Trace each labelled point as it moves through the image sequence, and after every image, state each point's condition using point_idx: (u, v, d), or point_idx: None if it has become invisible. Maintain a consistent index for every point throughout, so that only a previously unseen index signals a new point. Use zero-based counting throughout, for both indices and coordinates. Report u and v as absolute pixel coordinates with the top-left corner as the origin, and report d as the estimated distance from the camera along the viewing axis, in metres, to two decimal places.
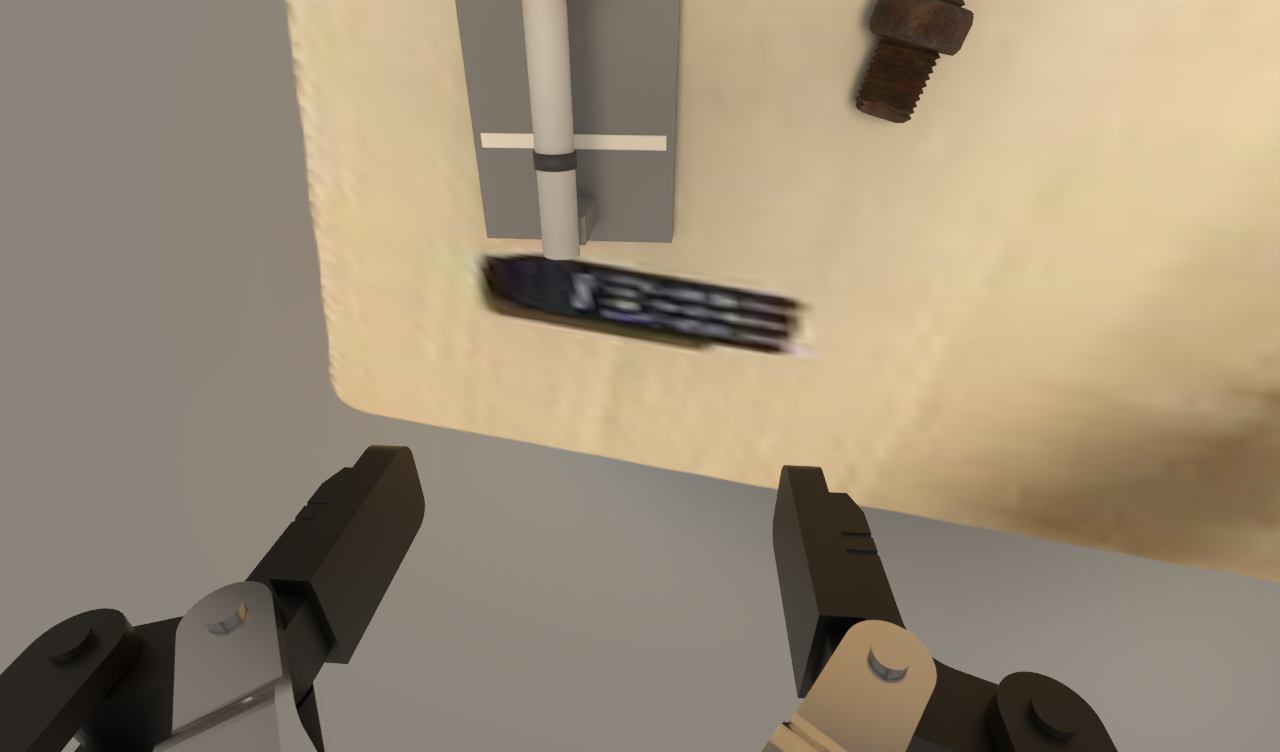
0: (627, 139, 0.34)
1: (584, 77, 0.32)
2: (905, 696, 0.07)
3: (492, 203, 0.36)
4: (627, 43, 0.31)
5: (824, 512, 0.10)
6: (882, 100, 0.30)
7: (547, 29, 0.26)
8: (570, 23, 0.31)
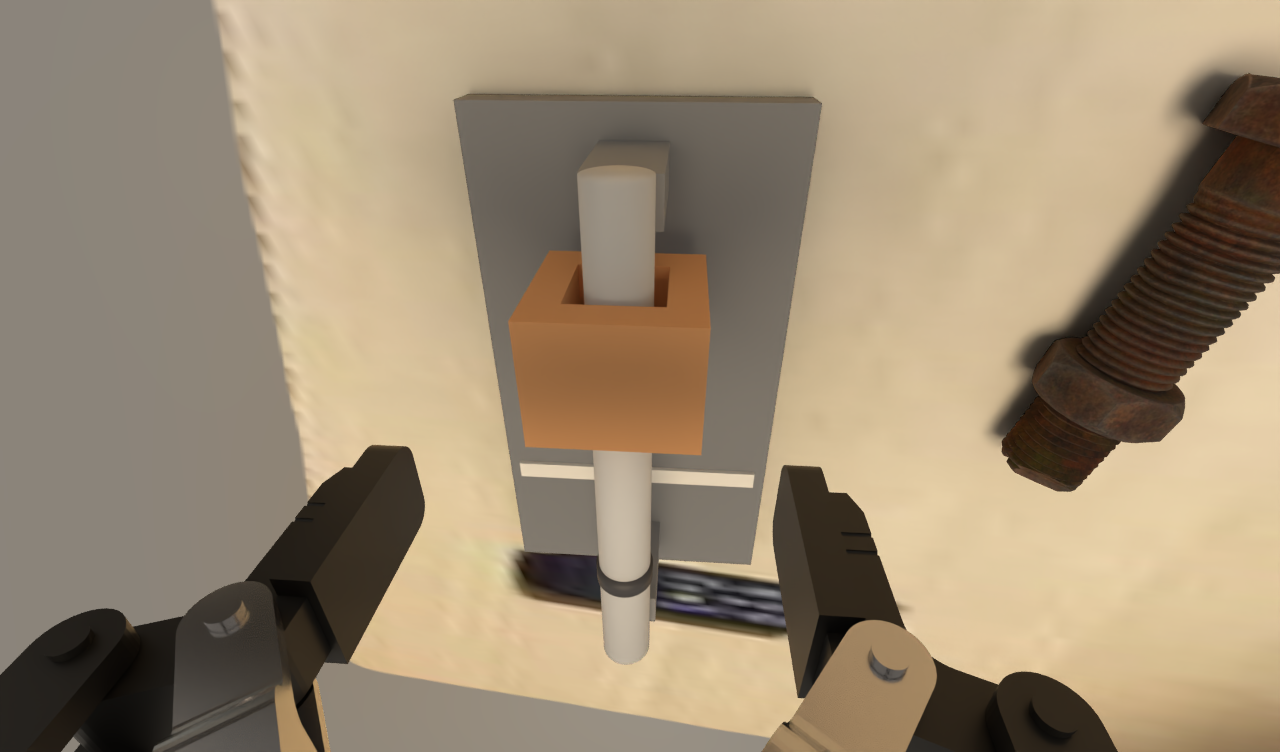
0: (704, 475, 0.27)
1: None
2: (905, 696, 0.07)
3: (532, 522, 0.30)
4: (711, 386, 0.24)
5: (824, 512, 0.10)
6: (1047, 474, 0.23)
7: (627, 476, 0.19)
8: None
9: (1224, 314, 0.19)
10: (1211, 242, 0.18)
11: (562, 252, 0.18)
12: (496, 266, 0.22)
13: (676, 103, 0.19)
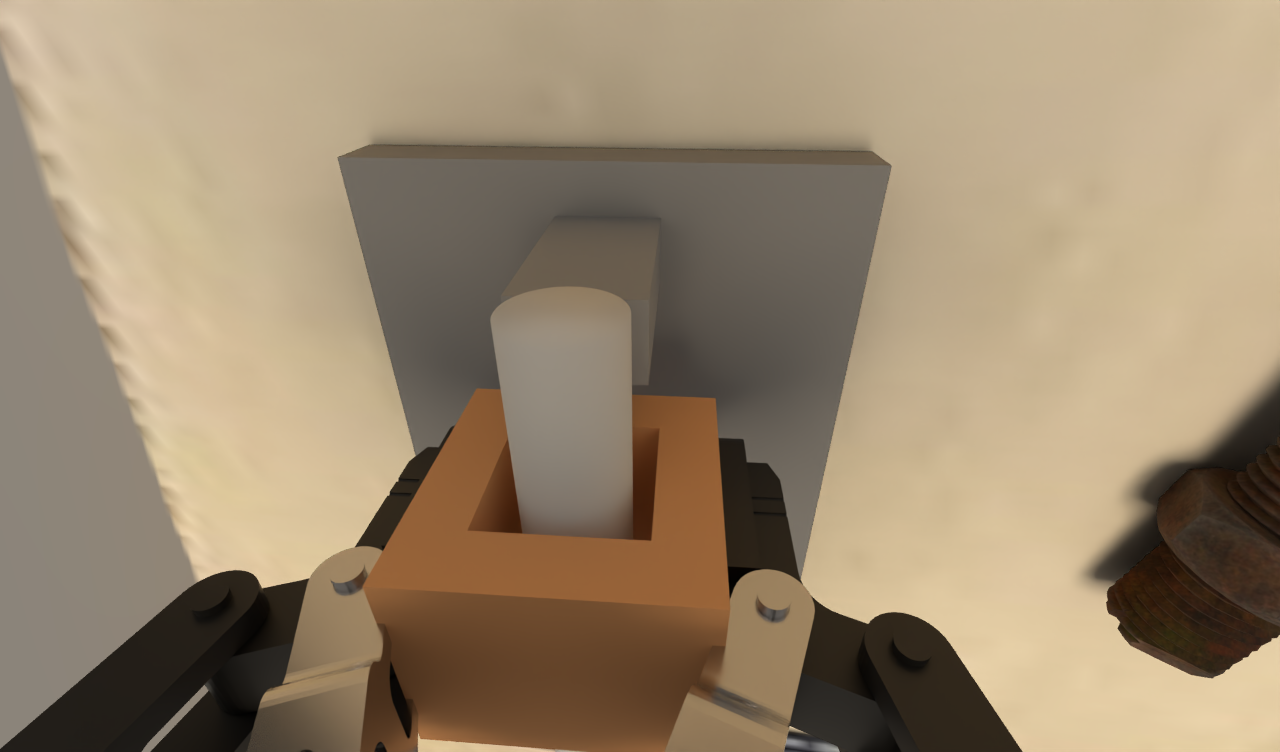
0: None
1: None
2: (782, 633, 0.08)
3: None
4: None
5: (739, 478, 0.11)
6: (1182, 658, 0.17)
7: None
8: None
9: None
10: None
11: (495, 393, 0.12)
12: (418, 380, 0.16)
13: (670, 164, 0.12)
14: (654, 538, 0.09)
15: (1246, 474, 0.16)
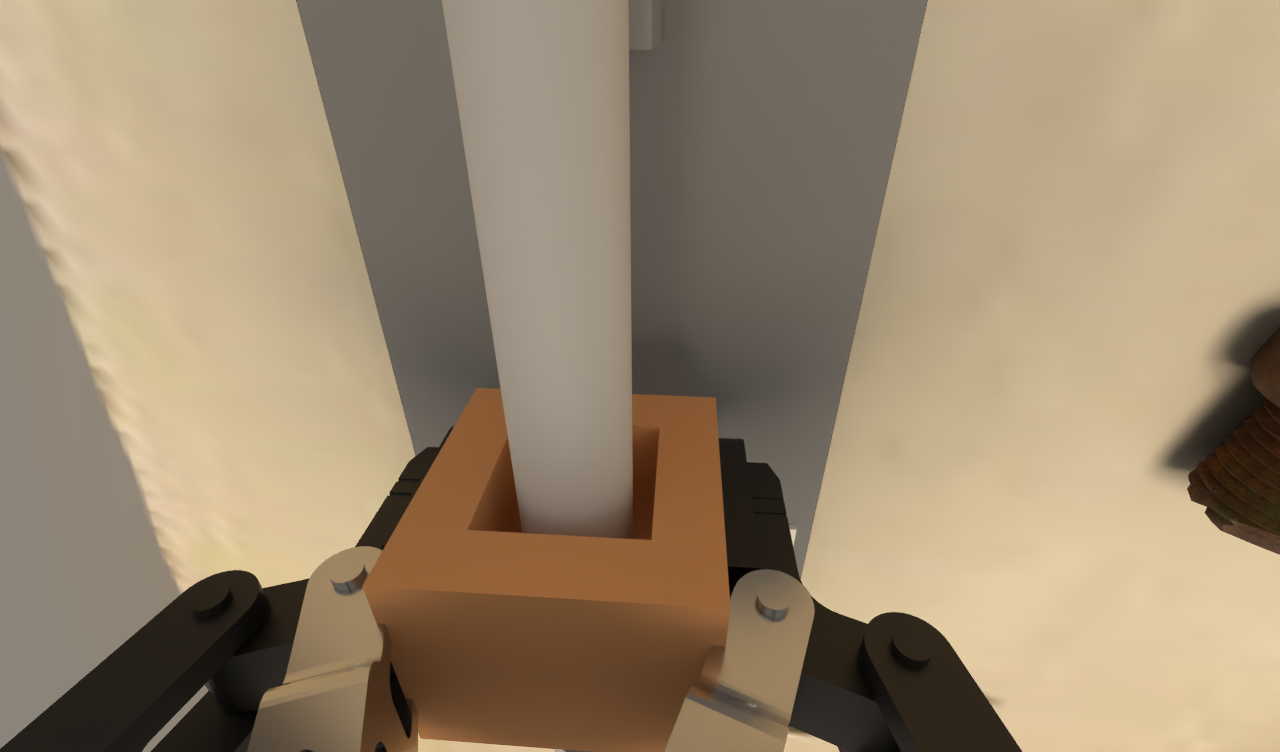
0: None
1: None
2: (781, 632, 0.08)
3: None
4: (734, 395, 0.15)
5: (739, 478, 0.11)
6: None
7: None
8: None
9: None
10: None
11: (495, 392, 0.12)
12: (374, 192, 0.13)
13: None
14: (654, 537, 0.09)
15: None
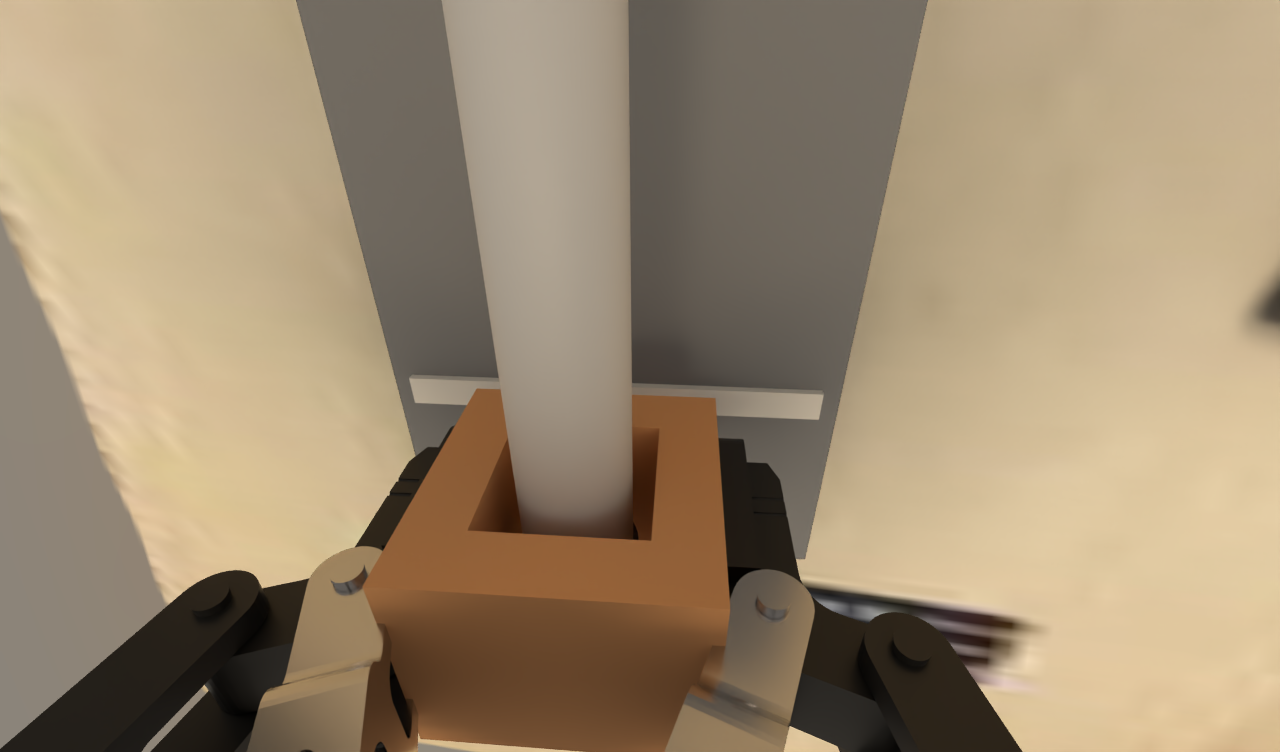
0: (734, 397, 0.15)
1: (642, 279, 0.14)
2: (782, 632, 0.08)
3: None
4: (753, 210, 0.13)
5: (739, 478, 0.11)
6: None
7: (563, 300, 0.07)
8: None
9: None
10: None
11: (495, 393, 0.12)
12: None
13: None
14: (654, 538, 0.09)
15: None
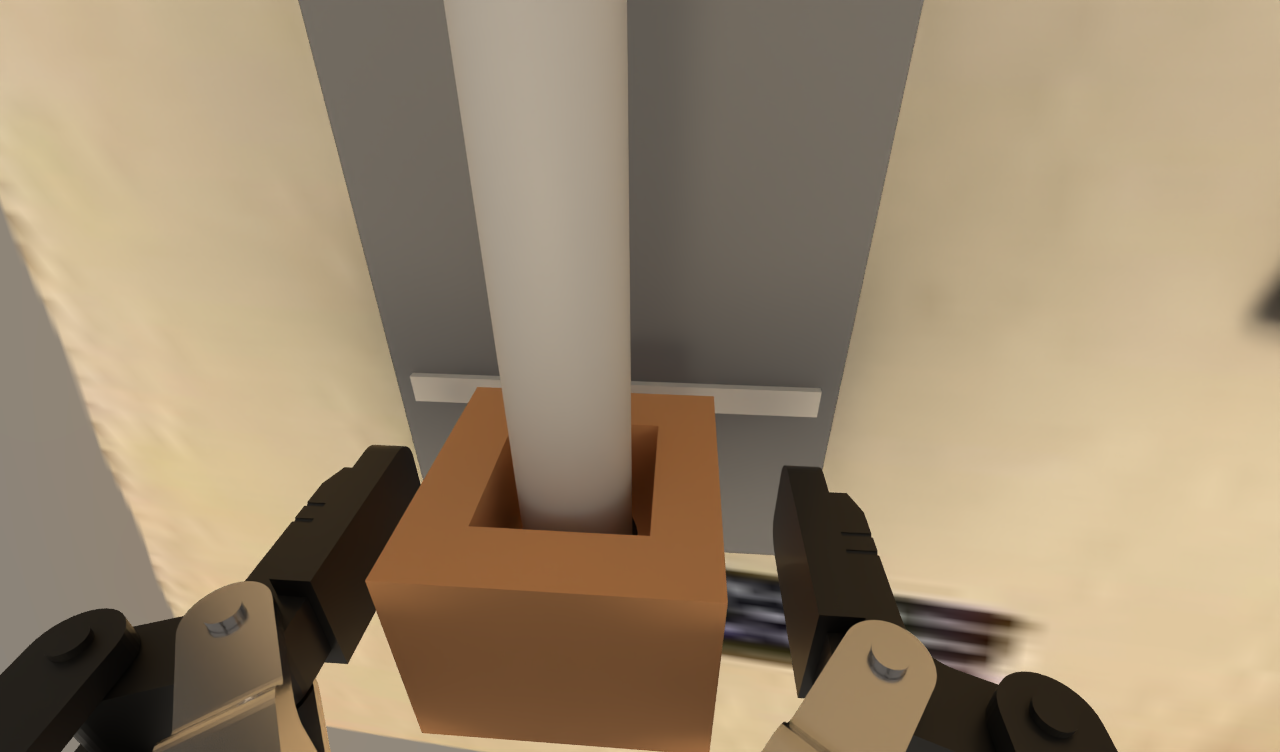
0: (732, 395, 0.15)
1: (641, 277, 0.14)
2: (905, 696, 0.07)
3: None
4: (751, 209, 0.13)
5: (824, 512, 0.10)
6: None
7: (563, 295, 0.07)
8: None
9: None
10: None
11: (495, 391, 0.12)
12: None
13: None
14: (653, 533, 0.09)
15: None
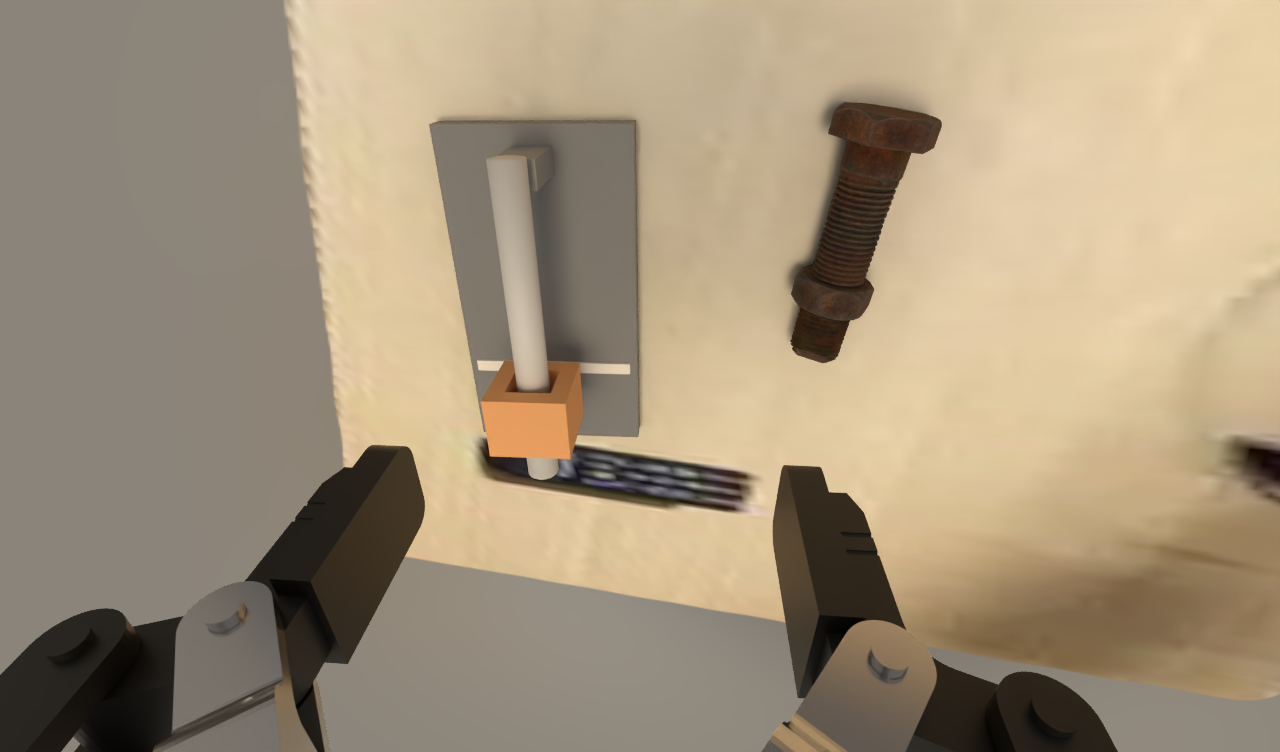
0: (597, 366, 0.41)
1: (560, 323, 0.40)
2: (905, 696, 0.07)
3: None
4: (595, 301, 0.39)
5: (824, 512, 0.10)
6: (810, 350, 0.37)
7: (526, 333, 0.33)
8: (548, 287, 0.38)
9: (863, 234, 0.33)
10: (844, 195, 0.33)
11: (510, 361, 0.38)
12: (456, 223, 0.37)
13: (553, 124, 0.33)
14: (551, 392, 0.34)
15: None
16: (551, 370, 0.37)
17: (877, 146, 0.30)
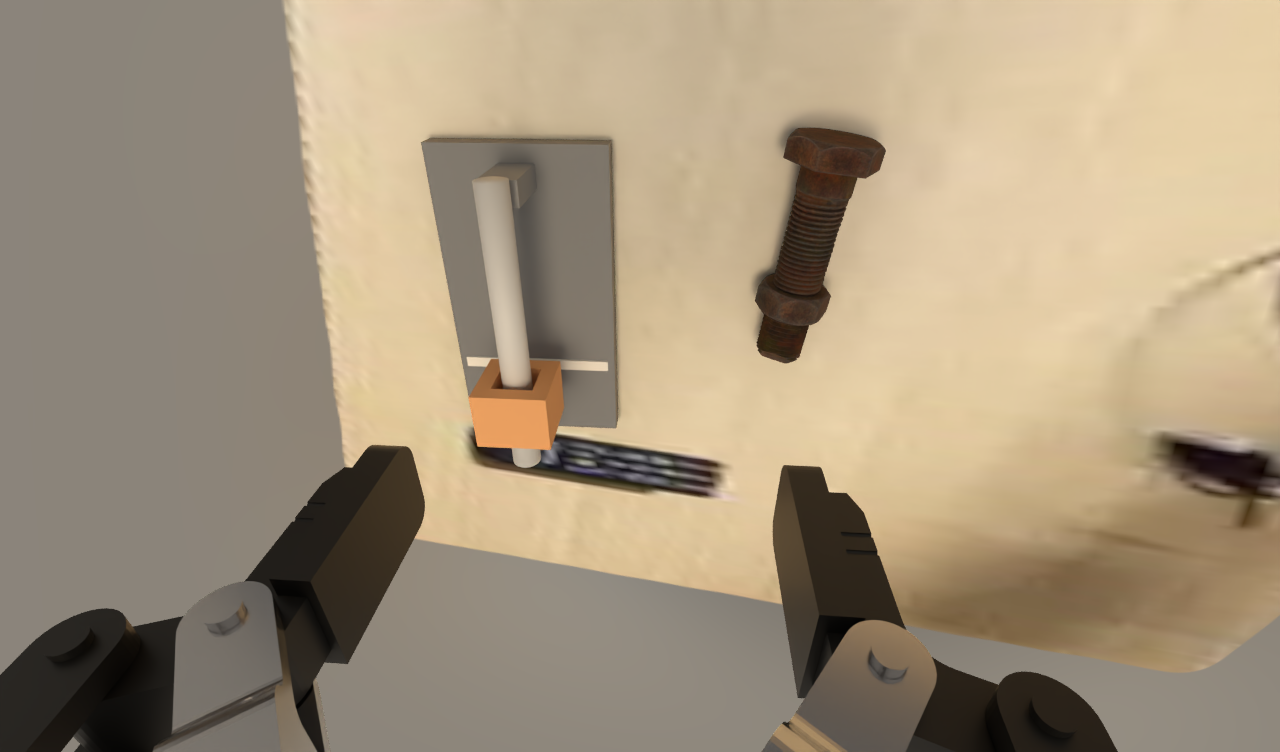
0: (578, 363, 0.44)
1: (543, 324, 0.43)
2: (905, 696, 0.07)
3: None
4: (575, 304, 0.42)
5: (824, 512, 0.10)
6: (773, 352, 0.41)
7: (510, 336, 0.36)
8: (532, 291, 0.42)
9: (817, 248, 0.36)
10: (798, 213, 0.36)
11: (496, 359, 0.41)
12: (447, 232, 0.40)
13: (535, 144, 0.36)
14: (533, 390, 0.38)
15: None
16: (534, 368, 0.40)
17: (824, 171, 0.33)
